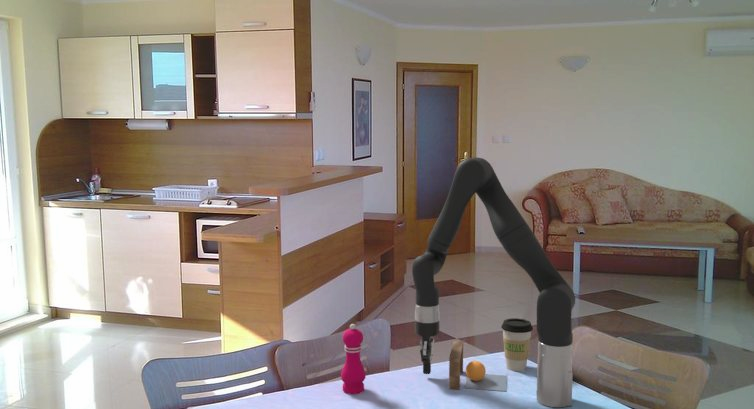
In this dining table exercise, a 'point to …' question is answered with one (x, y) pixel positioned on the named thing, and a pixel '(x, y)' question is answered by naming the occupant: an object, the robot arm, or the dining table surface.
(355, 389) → the pepper mill
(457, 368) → the bridge
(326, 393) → the dining table surface
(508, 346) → the coffee cup
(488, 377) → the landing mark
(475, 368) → the ball
